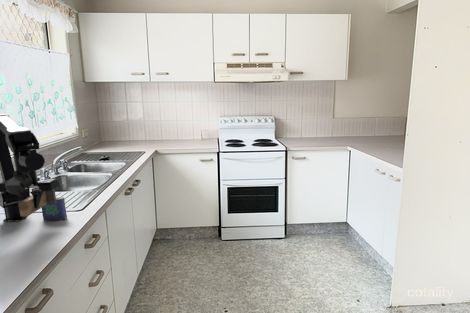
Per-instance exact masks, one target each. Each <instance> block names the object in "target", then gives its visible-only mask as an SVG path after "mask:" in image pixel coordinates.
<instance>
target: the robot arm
mask: <svg viewBox="0 0 470 313" xmlns="http://www.w3.org/2000/svg"><path fill="white" fill-rule="evenodd" d="M37 150H40V142H39V141H38V139H37V136H36V135H35V134H34V132H33V131H32V130H30V129H29V128H27V127H22V126H19V125H18V124H17V123H15V121H14V120H12V118H10V115H9V114H6V113H3V114H1V113H0V176H1V180H2V182H0V207H1V208H2V209H3V212H4V216H5V219H3V220H2V221H3V222H20V221H22V220H23V219H24V218H26V217H27V216H20V210H19V205H18V203H19V202H20V201H22V200H24V199H26V198H28V197H30V196H31V195H33V200H34V206H35V208H38V206H39V203H40V200H41V197H42V194H43V192H44V191H51V190H53V189H56V188H58V187H60V181H59V180H58V179H57V178H46V179H44V180H42V181H40V180H41V179H40V177H38V174H37V171H38V170H41V169H42V168H43V167H44V165H45V158H44V156H43V154H41V153H37ZM11 152H12V155H13V160H12V156H11ZM13 161H14V164H13ZM14 167H15V168H14ZM32 188H33V189H34V190H33V191H32V190H31V191H30V189H32Z"/></svg>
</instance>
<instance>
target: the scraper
mask: <svg viewBox="0 0 470 313" xmlns="http://www.w3.org/2000/svg"><path fill="white" fill-rule="evenodd" d="M55 189H56V188H55ZM55 189H53V190H51V191H44V192H43V194H42V197H41V200H40V203H39V206H38V208H35V206H34V200H33V195H32V194H30V197H28V198H26V199H24V200H22V201H20V202H19V203H18V205H19V210H20V216H26V217H30V215H33V214H34V213H36V212H37V211H39V210H41V209H42V207H43V206H45V205H47V204H51V203H57V202H56V198H57V197H56V191H55ZM33 190H34V189H33V188H31V191H33Z"/></svg>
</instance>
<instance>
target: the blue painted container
mask: <svg viewBox="0 0 470 313" xmlns="http://www.w3.org/2000/svg"><path fill="white" fill-rule="evenodd" d="M56 202H57V203H51V204H47V205H45V206H43V207H42V208H41V213H42V219H43V221H44V222H53V221H54V222H57V221H65V220H67V219H68V214H67V209H66V203H65V202H66V200H65V197H63V196H61V197H60V196H59V197H56Z"/></svg>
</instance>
